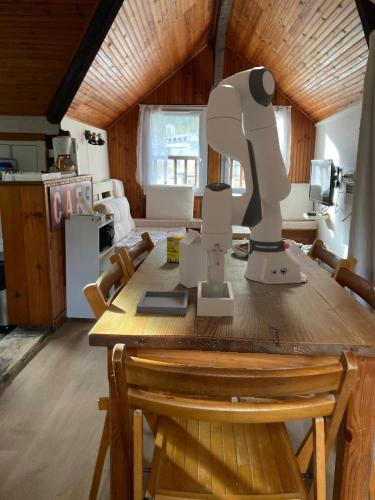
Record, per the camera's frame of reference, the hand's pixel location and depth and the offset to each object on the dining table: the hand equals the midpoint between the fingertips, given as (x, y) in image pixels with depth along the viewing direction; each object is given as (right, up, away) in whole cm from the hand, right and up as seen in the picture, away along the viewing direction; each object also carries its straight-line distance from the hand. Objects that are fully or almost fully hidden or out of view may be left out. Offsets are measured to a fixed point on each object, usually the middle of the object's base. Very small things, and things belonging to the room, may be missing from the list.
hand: (215, 287), depth 115 cm
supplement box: (-13, +6, +52) cm, 54 cm away
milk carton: (-6, -1, +21) cm, 22 cm away
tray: (-15, -5, +2) cm, 16 cm away
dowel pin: (0, -5, +1) cm, 6 cm away
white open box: (0, -6, +1) cm, 6 cm away
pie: (+22, +8, +65) cm, 69 cm away
